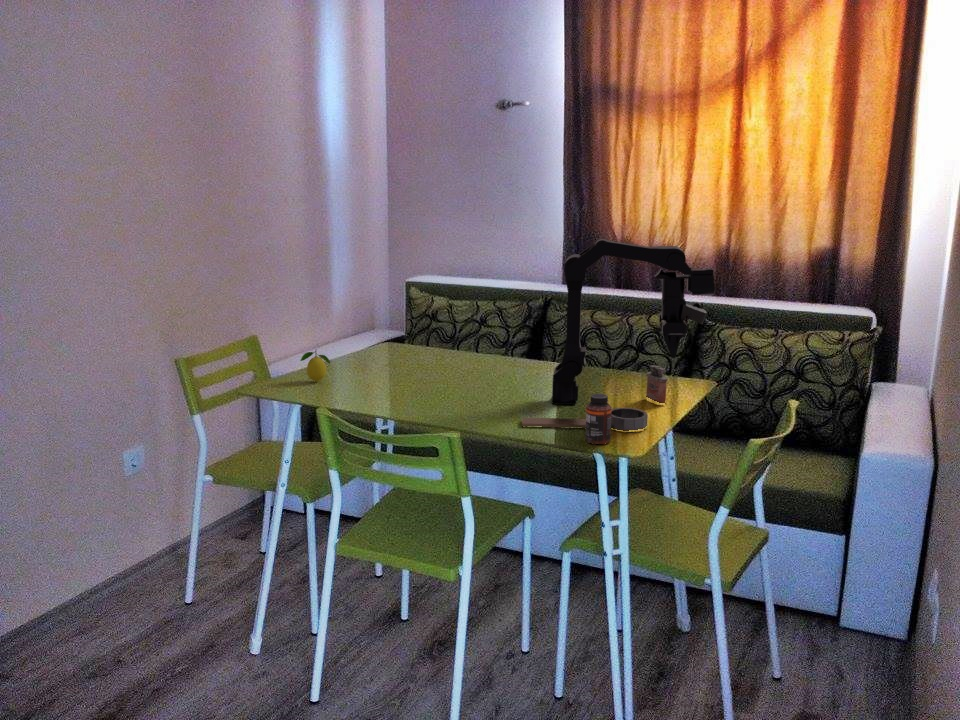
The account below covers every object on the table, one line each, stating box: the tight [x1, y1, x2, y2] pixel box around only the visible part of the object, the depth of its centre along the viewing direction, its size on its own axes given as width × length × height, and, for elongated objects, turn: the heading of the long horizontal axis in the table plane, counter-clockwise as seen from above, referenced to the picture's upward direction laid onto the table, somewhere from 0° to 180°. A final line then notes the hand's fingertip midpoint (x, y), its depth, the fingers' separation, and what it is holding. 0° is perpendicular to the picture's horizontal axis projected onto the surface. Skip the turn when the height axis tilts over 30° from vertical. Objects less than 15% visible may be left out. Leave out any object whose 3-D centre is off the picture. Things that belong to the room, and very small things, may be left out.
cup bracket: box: [521, 407, 649, 431], centre depth 229 cm, size 31×10×4 cm, turn 87°
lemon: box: [299, 350, 331, 383], centre depth 266 cm, size 7×6×10 cm
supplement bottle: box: [585, 393, 613, 445], centre depth 217 cm, size 6×6×11 cm
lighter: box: [645, 365, 669, 403], centre depth 250 cm, size 8×3×10 cm, turn 21°
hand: (672, 353), depth 243 cm, fingers open, 9 cm apart
